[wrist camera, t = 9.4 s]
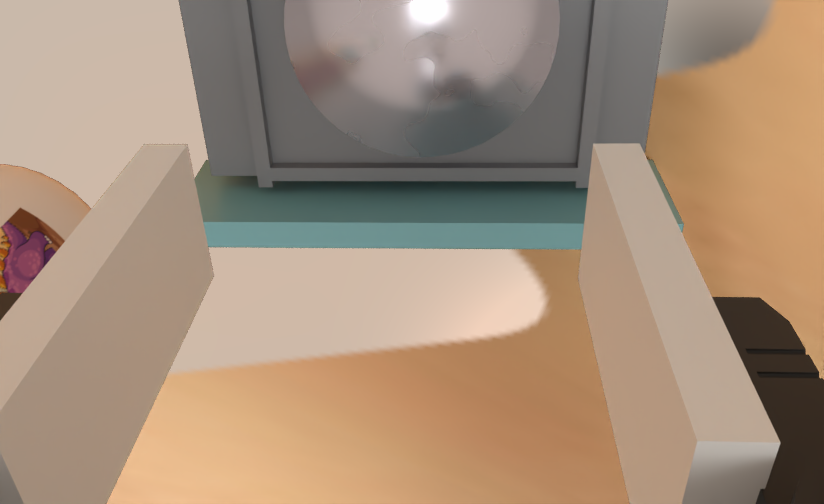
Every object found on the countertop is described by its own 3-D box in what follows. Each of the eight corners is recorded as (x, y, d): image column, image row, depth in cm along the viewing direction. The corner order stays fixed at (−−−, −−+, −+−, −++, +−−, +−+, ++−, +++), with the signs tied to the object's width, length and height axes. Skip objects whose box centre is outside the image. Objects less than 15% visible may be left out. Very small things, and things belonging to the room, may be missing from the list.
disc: (569, -123, 21) (577, -117, 20) (537, 140, 26) (543, 161, 24) (284, -131, 22) (274, -125, 20) (300, 133, 26) (292, 153, 24)
